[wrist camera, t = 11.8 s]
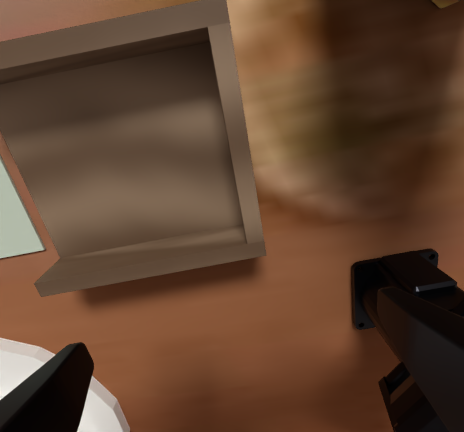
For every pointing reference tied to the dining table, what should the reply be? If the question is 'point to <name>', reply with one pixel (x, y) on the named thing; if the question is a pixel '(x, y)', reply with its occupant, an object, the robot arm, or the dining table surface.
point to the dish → (33, 357)
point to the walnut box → (133, 144)
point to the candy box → (444, 2)
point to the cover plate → (15, 220)
